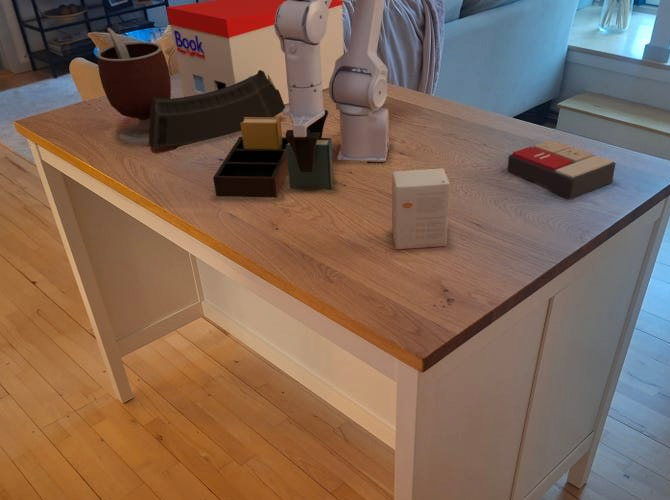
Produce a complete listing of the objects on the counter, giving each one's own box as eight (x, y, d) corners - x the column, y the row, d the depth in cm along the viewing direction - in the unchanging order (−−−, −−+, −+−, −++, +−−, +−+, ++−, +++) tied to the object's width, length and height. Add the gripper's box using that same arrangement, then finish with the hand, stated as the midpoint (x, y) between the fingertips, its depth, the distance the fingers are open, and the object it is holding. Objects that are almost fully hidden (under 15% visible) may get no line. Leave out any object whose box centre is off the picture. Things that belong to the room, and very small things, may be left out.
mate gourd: (192, 134, 142) (173, 34, 129) (133, 152, 136) (107, 48, 123) (159, 116, 152) (139, 21, 139) (103, 132, 145) (76, 34, 133)
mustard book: (284, 158, 129) (280, 117, 124) (281, 164, 127) (276, 123, 121) (249, 157, 130) (244, 117, 125) (245, 163, 127) (240, 122, 122)
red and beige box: (551, 136, 123) (617, 158, 112) (548, 159, 126) (613, 182, 115) (507, 151, 119) (572, 175, 108) (505, 174, 121) (568, 199, 111)
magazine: (132, 113, 127) (260, 38, 132) (127, 109, 129) (253, 35, 135) (174, 185, 140) (289, 114, 145) (168, 180, 142) (282, 110, 147)
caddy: (296, 156, 130) (294, 137, 128) (277, 199, 116) (274, 178, 114) (242, 156, 132) (239, 136, 129) (216, 198, 118) (212, 177, 115)
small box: (441, 229, 105) (445, 167, 99) (446, 247, 101) (451, 183, 94) (391, 232, 105) (391, 170, 99) (394, 250, 101) (395, 186, 94)
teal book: (333, 183, 120) (331, 137, 115) (331, 191, 118) (328, 145, 112) (293, 182, 121) (289, 137, 116) (290, 190, 119) (285, 144, 113)
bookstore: (183, 103, 158) (165, 7, 144) (288, 67, 177) (281, -21, 163) (239, 122, 146) (225, 19, 133) (345, 81, 165) (342, -13, 152)
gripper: (289, 69, 114) (295, 145, 122) (271, 97, 103) (279, 179, 111) (329, 69, 113) (333, 146, 121) (315, 97, 102) (320, 179, 110)
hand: (310, 162), depth 116 cm, fingers open, 7 cm apart
